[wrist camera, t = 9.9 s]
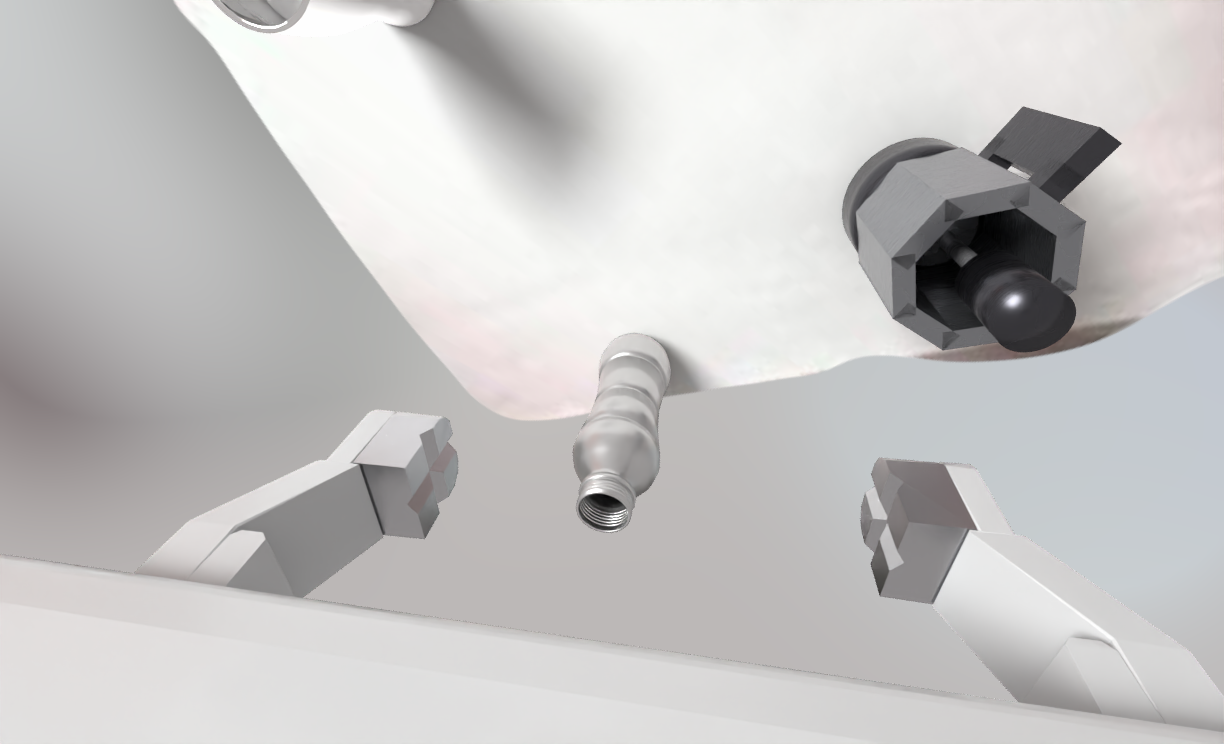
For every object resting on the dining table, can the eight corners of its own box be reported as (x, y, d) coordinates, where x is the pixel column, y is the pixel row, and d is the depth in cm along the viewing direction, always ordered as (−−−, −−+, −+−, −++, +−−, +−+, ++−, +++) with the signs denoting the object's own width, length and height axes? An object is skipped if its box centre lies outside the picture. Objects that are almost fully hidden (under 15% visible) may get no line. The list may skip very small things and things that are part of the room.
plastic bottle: (651, 313, 50) (620, 460, 33) (685, 371, 53) (671, 534, 36) (591, 340, 52) (533, 490, 36) (626, 395, 55) (588, 557, 38)
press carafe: (943, 64, 37) (1050, 83, 25) (1047, 140, 38) (1194, 191, 27) (816, 222, 44) (854, 296, 32) (908, 282, 45) (977, 373, 33)
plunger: (932, 173, 35) (1042, 248, 24) (992, 214, 36) (1127, 307, 24) (875, 238, 38) (947, 334, 26) (932, 275, 39) (1027, 385, 27)
